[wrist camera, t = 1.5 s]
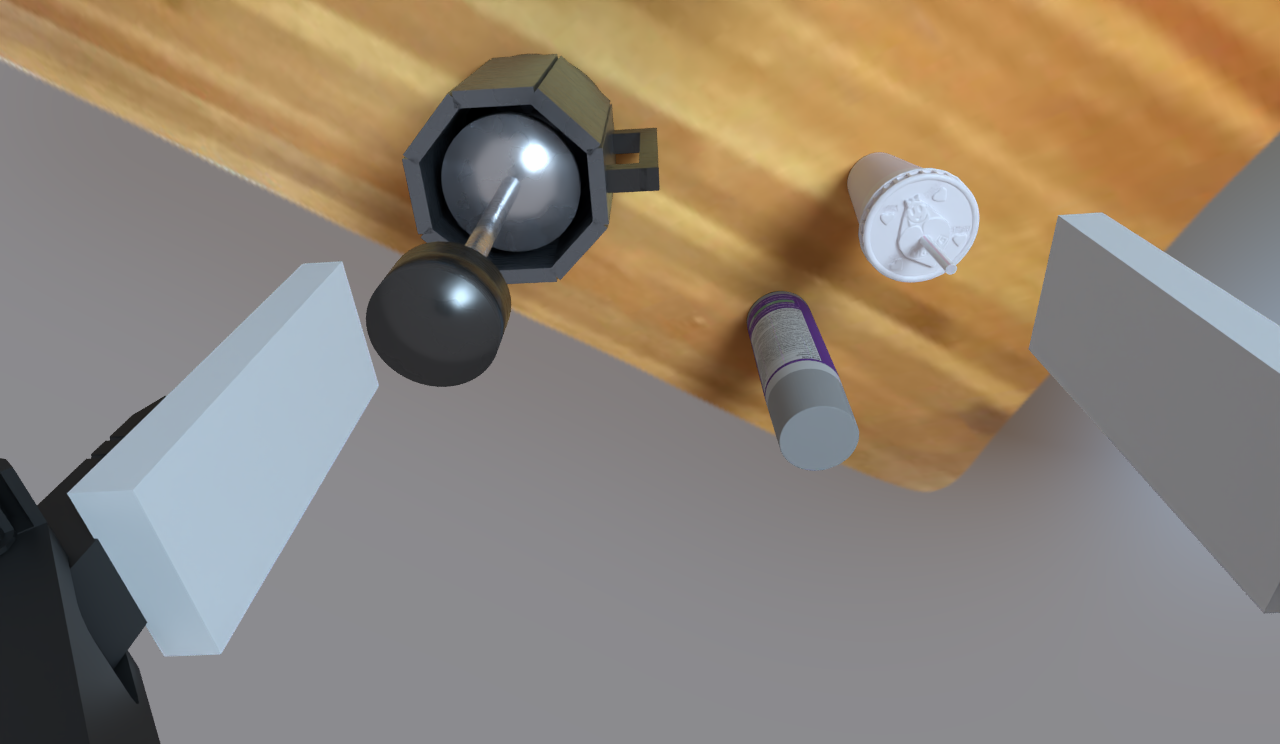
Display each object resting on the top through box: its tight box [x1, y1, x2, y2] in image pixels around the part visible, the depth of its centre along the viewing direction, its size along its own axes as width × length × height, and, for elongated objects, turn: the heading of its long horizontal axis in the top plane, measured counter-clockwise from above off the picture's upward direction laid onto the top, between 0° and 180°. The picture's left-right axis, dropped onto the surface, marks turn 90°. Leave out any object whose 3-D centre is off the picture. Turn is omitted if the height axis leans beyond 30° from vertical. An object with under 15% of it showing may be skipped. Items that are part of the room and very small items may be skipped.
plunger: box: [366, 111, 581, 387], centre depth 32 cm, size 7×7×17 cm
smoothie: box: [847, 152, 979, 282], centre depth 44 cm, size 6×6×14 cm
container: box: [747, 291, 859, 471], centre depth 48 cm, size 5×5×15 cm
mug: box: [402, 54, 659, 284], centre depth 43 cm, size 10×13×12 cm
